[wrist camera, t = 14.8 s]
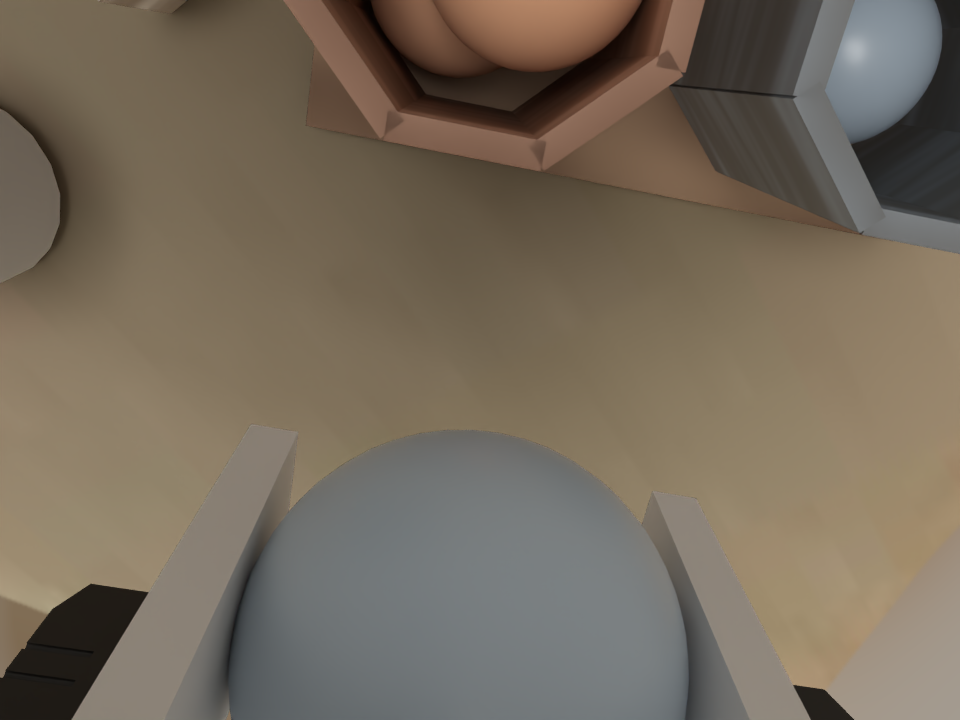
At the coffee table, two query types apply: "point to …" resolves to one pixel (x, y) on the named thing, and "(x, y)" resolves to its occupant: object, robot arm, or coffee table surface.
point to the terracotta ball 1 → (428, 39)
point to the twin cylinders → (667, 112)
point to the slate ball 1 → (459, 594)
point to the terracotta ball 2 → (536, 29)
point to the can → (24, 200)
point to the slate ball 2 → (883, 64)
